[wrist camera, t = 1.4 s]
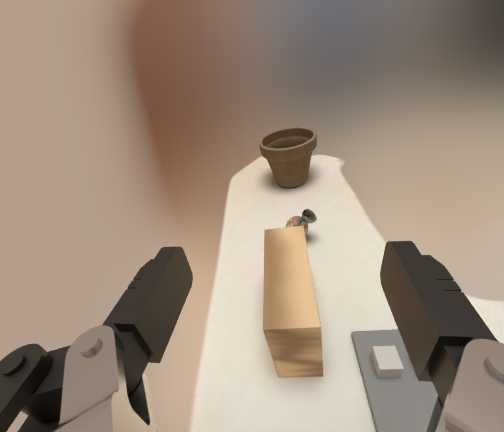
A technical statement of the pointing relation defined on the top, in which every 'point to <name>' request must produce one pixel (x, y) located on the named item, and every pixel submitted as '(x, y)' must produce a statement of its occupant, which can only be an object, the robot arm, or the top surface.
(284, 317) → the brown rectangular block
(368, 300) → the top surface
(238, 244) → the top surface
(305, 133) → the flower pot
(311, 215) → the vase
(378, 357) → the peg stand
